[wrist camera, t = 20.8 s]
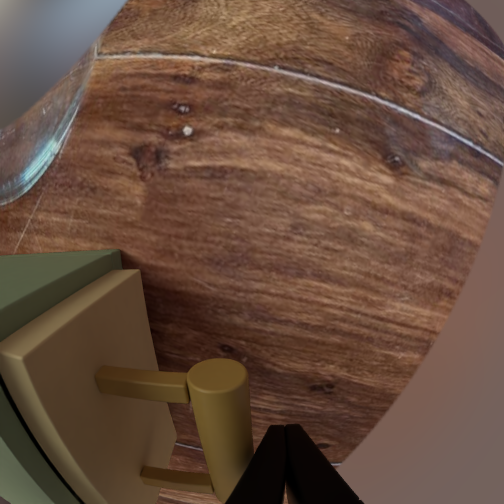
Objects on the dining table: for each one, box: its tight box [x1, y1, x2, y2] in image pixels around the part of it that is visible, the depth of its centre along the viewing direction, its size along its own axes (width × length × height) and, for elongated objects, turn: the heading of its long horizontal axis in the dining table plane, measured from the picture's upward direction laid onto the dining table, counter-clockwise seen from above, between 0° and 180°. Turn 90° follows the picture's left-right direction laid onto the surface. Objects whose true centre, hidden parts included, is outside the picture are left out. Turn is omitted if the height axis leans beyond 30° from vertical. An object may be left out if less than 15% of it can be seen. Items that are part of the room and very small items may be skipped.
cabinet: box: [0, 249, 123, 504], centre depth 8 cm, size 11×10×8 cm
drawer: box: [0, 269, 254, 504], centre depth 8 cm, size 13×8×6 cm, turn 93°
